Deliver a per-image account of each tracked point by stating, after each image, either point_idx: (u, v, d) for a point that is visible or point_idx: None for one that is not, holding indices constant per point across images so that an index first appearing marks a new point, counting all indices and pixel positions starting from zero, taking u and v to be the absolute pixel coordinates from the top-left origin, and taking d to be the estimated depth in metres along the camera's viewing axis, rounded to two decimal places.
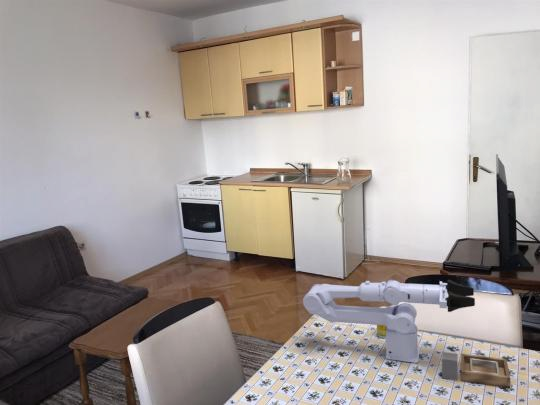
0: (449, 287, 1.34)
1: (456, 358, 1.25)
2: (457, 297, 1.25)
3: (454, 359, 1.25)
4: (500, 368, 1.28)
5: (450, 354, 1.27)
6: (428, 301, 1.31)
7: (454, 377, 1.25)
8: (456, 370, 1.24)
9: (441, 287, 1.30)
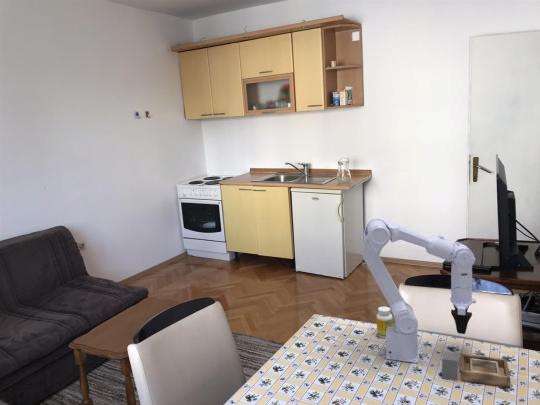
0: None
1: (456, 358, 1.25)
2: (467, 321, 1.29)
3: (454, 359, 1.25)
4: (500, 368, 1.28)
5: (450, 354, 1.27)
6: (456, 291, 1.32)
7: (454, 377, 1.25)
8: (456, 370, 1.24)
9: (471, 302, 1.32)
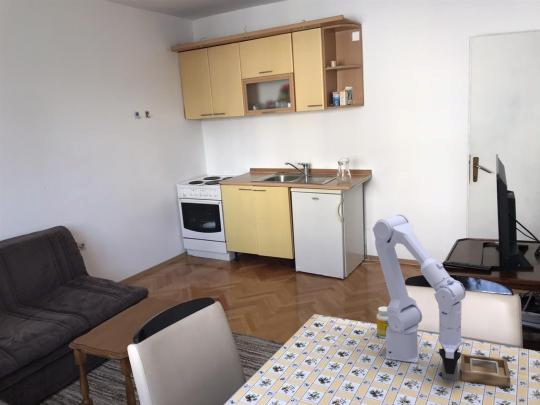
0: None
1: None
2: (456, 361, 1.22)
3: None
4: (500, 368, 1.28)
5: None
6: (445, 332, 1.23)
7: (454, 377, 1.25)
8: (456, 370, 1.24)
9: (461, 344, 1.23)
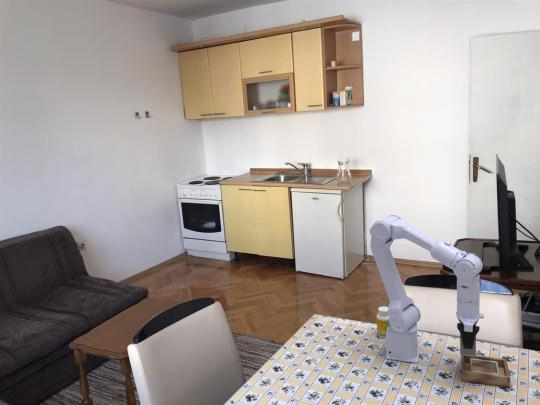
0: None
1: None
2: (474, 336, 1.21)
3: None
4: (500, 368, 1.28)
5: None
6: (463, 306, 1.21)
7: (472, 352, 1.23)
8: (474, 345, 1.23)
9: (479, 318, 1.22)
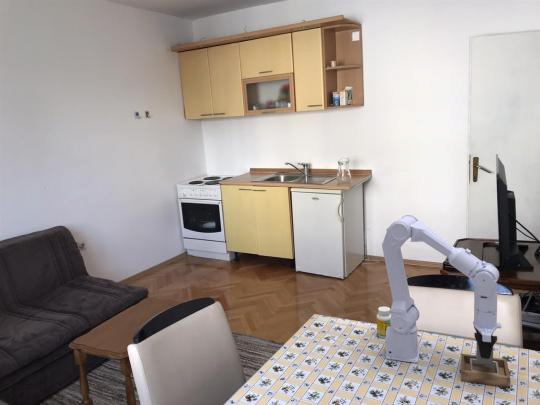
0: None
1: None
2: (492, 345, 1.21)
3: None
4: (500, 368, 1.28)
5: None
6: (480, 315, 1.22)
7: (489, 362, 1.24)
8: (491, 355, 1.23)
9: (496, 328, 1.22)
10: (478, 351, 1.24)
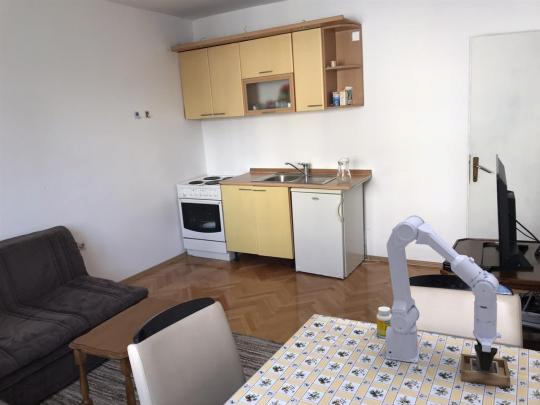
0: None
1: None
2: (492, 357, 1.20)
3: None
4: (500, 368, 1.28)
5: None
6: (480, 325, 1.22)
7: None
8: (491, 367, 1.24)
9: (496, 337, 1.22)
10: (478, 363, 1.25)
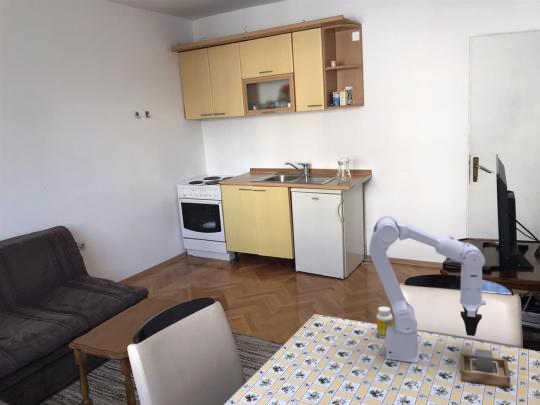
0: None
1: (491, 355, 1.24)
2: (477, 323, 1.28)
3: (489, 356, 1.24)
4: (500, 368, 1.28)
5: (485, 351, 1.26)
6: (466, 293, 1.30)
7: None
8: (491, 367, 1.24)
9: (481, 304, 1.30)
10: (478, 363, 1.25)
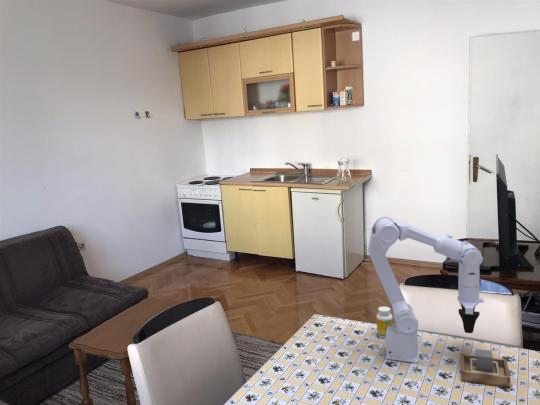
0: None
1: (491, 355, 1.24)
2: (474, 320, 1.30)
3: (489, 356, 1.24)
4: (500, 368, 1.28)
5: (485, 351, 1.26)
6: (464, 290, 1.32)
7: None
8: (491, 367, 1.24)
9: (479, 302, 1.32)
10: (478, 363, 1.25)
